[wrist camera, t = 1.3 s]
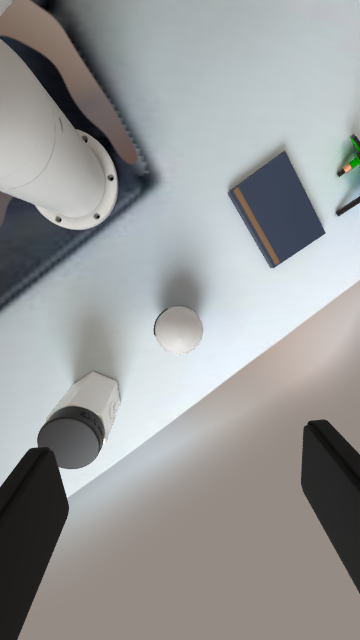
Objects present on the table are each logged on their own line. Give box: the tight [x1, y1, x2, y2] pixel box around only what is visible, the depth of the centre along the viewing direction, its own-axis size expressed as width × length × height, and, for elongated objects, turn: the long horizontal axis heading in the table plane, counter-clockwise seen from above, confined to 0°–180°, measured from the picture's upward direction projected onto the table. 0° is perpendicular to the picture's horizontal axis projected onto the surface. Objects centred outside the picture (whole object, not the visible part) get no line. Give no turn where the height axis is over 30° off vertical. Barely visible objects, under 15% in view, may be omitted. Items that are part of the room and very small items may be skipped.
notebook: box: [228, 151, 325, 268], centre depth 35 cm, size 13×9×1 cm
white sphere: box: [154, 306, 203, 355], centre depth 36 cm, size 10×7×7 cm
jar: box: [37, 372, 120, 469], centre depth 37 cm, size 9×8×12 cm
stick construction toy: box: [336, 134, 360, 216], centre depth 33 cm, size 12×7×8 cm
